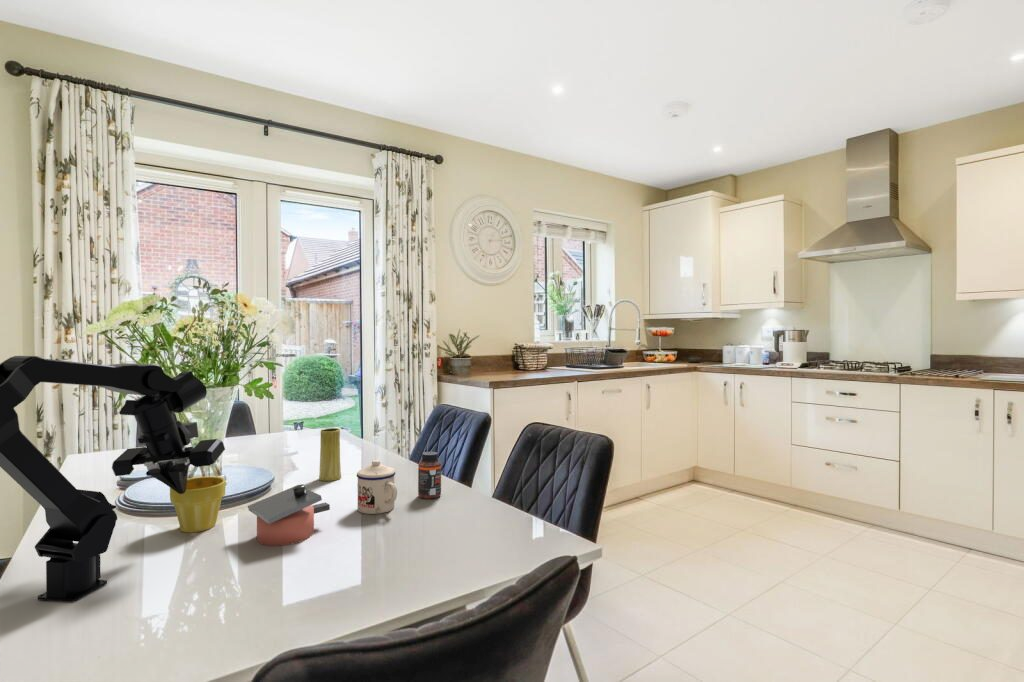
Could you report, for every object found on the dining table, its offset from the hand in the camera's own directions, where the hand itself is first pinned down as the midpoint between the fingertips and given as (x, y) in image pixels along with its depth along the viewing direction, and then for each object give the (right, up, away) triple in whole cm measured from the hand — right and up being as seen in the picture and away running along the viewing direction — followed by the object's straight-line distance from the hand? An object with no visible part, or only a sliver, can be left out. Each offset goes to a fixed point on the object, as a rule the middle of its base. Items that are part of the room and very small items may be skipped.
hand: (183, 492), depth 106 cm
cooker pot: (+20, -10, +6) cm, 23 cm away
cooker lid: (+19, -4, +4) cm, 20 cm away
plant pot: (-2, -10, +9) cm, 14 cm away
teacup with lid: (+34, -10, +21) cm, 42 cm away
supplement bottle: (+45, -10, +32) cm, 56 cm away
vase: (+13, -10, +47) cm, 50 cm away
